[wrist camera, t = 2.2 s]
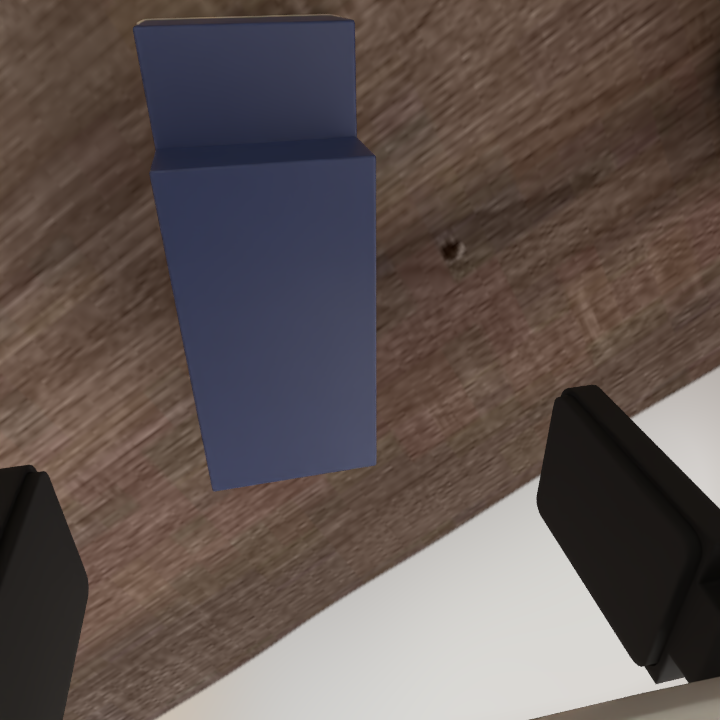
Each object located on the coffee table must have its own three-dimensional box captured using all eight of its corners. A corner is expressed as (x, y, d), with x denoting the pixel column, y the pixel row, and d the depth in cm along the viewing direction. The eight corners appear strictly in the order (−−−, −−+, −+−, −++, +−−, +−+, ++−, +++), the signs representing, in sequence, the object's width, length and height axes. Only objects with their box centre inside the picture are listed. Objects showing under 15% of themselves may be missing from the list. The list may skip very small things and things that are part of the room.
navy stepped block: (210, 396, 22) (211, 505, 17) (141, 18, 16) (114, 31, 11) (344, 377, 23) (380, 477, 18) (331, 13, 16) (381, 23, 12)
